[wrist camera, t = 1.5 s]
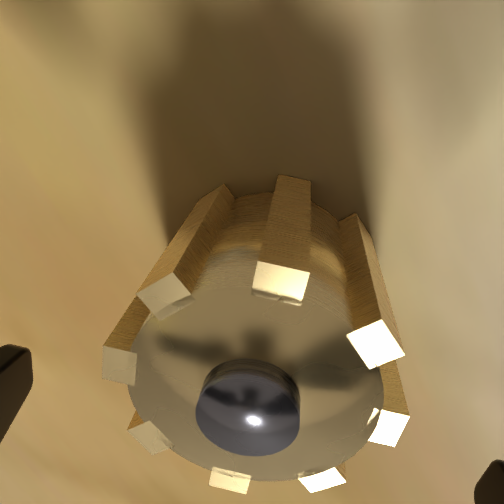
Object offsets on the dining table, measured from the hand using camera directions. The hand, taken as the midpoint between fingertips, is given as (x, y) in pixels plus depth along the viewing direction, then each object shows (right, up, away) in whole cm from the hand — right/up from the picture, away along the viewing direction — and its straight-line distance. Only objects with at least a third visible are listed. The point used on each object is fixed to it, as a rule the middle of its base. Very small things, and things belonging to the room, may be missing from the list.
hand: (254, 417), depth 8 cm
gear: (+1, +2, +5) cm, 6 cm away
